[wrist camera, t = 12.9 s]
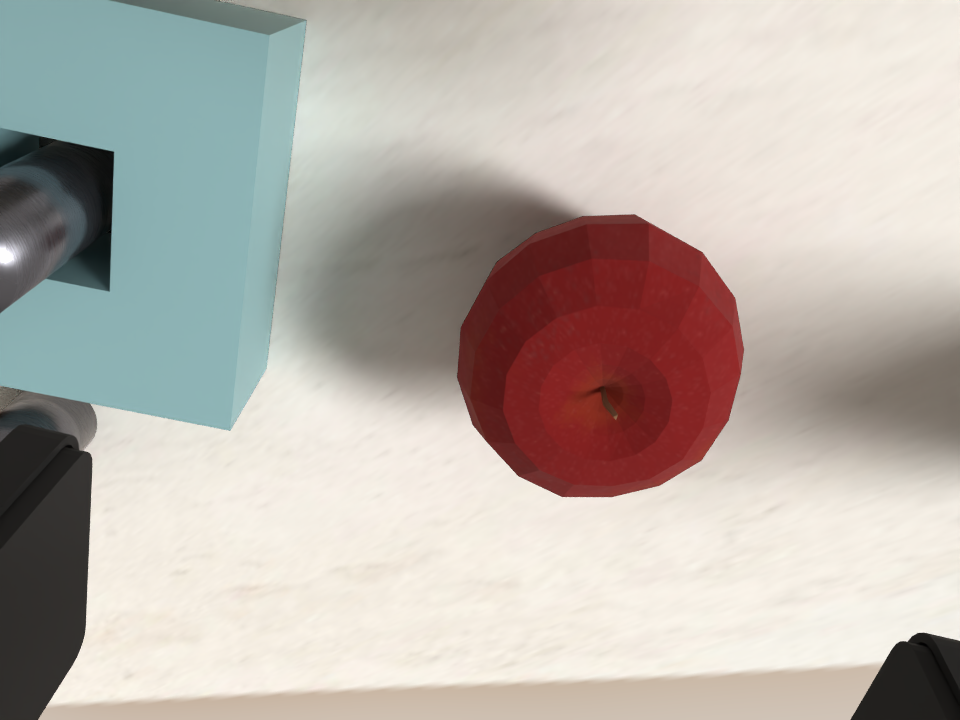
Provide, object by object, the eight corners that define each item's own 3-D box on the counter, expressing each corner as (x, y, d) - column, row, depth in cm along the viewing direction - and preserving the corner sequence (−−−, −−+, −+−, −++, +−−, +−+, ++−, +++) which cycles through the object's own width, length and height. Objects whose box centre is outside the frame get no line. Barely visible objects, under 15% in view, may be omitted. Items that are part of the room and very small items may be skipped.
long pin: (60, 116, 39) (-116, 192, 28) (153, 135, 39) (15, 217, 28) (60, 205, 41) (-105, 309, 30) (150, 224, 41) (18, 332, 30)
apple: (611, 122, 38) (646, 195, 28) (756, 305, 41) (837, 433, 31) (418, 283, 42) (383, 403, 31) (566, 440, 45) (580, 597, 34)
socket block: (-94, -68, 36) (-202, -68, 31) (306, 20, 37) (269, 35, 32) (-72, 301, 43) (-158, 354, 38) (266, 368, 44) (230, 430, 38)
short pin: (15, 374, 44) (-43, 424, 40) (97, 389, 45) (49, 441, 40) (16, 443, 46) (-38, 499, 42) (96, 458, 46) (50, 515, 42)
